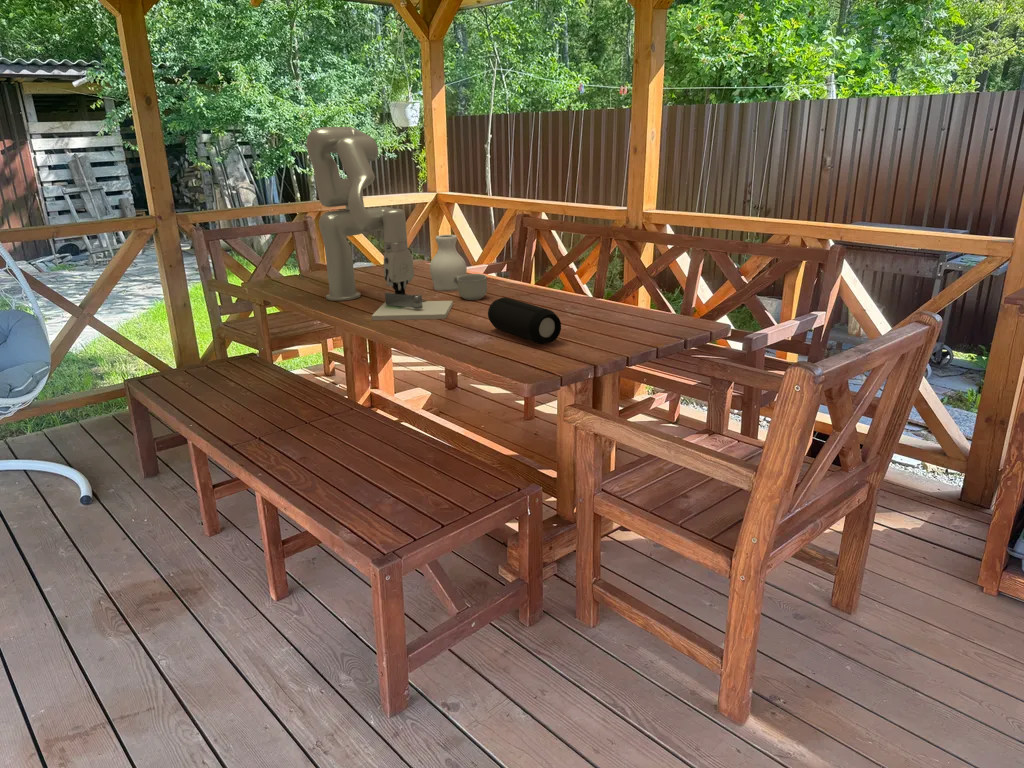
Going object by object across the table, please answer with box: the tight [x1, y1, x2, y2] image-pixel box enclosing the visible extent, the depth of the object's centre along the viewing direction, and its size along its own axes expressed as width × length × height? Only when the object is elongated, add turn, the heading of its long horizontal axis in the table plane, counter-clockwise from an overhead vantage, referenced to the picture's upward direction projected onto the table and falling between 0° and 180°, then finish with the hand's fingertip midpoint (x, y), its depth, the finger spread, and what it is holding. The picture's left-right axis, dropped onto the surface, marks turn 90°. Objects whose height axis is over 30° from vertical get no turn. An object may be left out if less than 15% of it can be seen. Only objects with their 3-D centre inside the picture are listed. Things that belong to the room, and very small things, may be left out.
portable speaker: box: [487, 297, 562, 345], centre depth 211 cm, size 26×10×10 cm, turn 34°
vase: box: [429, 234, 468, 292], centre depth 280 cm, size 14×14×20 cm
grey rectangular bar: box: [384, 292, 423, 309], centre depth 244 cm, size 15×3×4 cm, turn 61°
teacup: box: [453, 273, 488, 301], centre depth 263 cm, size 14×11×8 cm
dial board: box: [371, 299, 454, 321], centre depth 245 cm, size 20×24×2 cm
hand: (400, 300), depth 249 cm, fingers closed
